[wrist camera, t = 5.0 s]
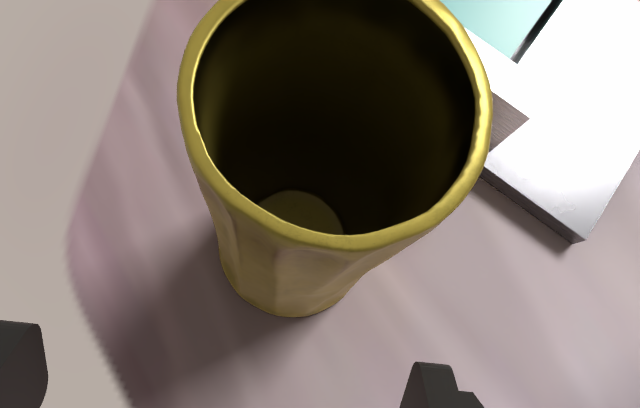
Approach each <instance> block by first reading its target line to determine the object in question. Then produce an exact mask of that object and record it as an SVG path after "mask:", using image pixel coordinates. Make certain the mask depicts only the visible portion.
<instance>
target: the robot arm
mask: <svg viewBox="0 0 640 408" xmlns="http://www.w3.org/2000/svg"><path fill="white" fill-rule="evenodd" d="M47 384H48V371H47V365H46V359H45V352H44V346H43V339H42V333H41V328H40V326H39V325H38V324H33V323H23V322H13V321H4V320H0V408H40V406H41V404H42V402H43V399H44V396H45V393H46V389H47ZM400 408H484V407H483V405H482V404H481V403H480V401H479V400H478V399H477V397H476V396H475V395H474V393H473V392H465V391H458V388H457V384H456V381H455V377H454V374H453V370H452V368H451V367H450V366H449V365H444V364H435V363H425V362H415V363H414V364H413V366H412V369H411V373H410V376H409V379H408V382H407V385H406V389H405V392H404V395H403V398H402V401H401V405H400Z"/></svg>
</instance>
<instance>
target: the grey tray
mask: <svg viewBox="0 0 640 408" xmlns="http://www.w3.org/2000/svg"><path fill="white" fill-rule="evenodd" d="M465 30H466V31H467V33H468V35H469V36H470V38H471V40H472V42H473V43H474V45H475V47H476V49H477V51H478V53H479V55H480V57H481V59H482V62H483V64H484V66H485V69H486V72H487V75H488V78H489V81H490V85H491V91H492V97H493V119H492V129H491V138H490V145H489V152H488V155H487V158H486V161H485V164H484V167H483V170H482V171H481V173H480V175H479V176H480V177H481V178H483V179H484V180H485V181H487V182H488V183H489V184H491V185H492V186H494V187H495V188H496V189H498V190H499V191H501V192H502V193H503V194H505V195H506V196H507V197H509V198H510V199H512V200H513V201H514V202H516V203H517V204H518V205H520V206H521V207H523V208H524V209H525V210H527V211H528V212H529V213H531V214H532V215H534V216H535V217H536V218H538V219H539V220H541V221H542V222H543V223H545V224H546V225H547V226H549V227H550V228H552V229H553V230H554V231H556V232H557V233H558V234H560V235H561V236H563V237H564V238H565V239H567V240H568V241H569V242H571V243H572V244H575V243H578V242H581V241H585V240H586V239H587V238H588V236H589V234H590V233H591V231H592V229H593V228H594V226H595V224H596V223H597V221H598V219H599V217H600V216H601V214H602V212H603V211H604V209H605V207H606V206H607V204H608V202H609V201H610V199H611V197H612V196H613V194H614V192H615V190H616V189H617V187H618V185H619V184H620V182H621V180H622V179H623V177H624V175H625V174H626V172H627V170H628V169H629V167H630V165H631V163H632V162H633V160H634V158H635V157H636V155H637V153H638V152H639V150H640V3H638V2H637V1H635V0H552V1H551V2H550V4H549V5H548V6H547V8H546V9H545V11H544V12H543V13H542V15H541V16H540V18H539V19H538V20H537V22H536V23H535V25H534V26H533V27H532V29H531V30H530V31H529V33H528V34H527V36H526V37H525V38H524V40H523V41H522V43H521V44H520V45H519V47H518V48H517V50H516V51H515V52H514V54H513V55H512V56H511V58H510V59H508V58H506V57H505V56H504V55H502V54H501V53H499V52H498V51H496V50H495V49H494V48H492V47H491V46H489V45H488V44H486V43H485V42H484V41H482V40H481V39H479V38H478V37H477V36H475V35H474V34H472V33H471V32H469V31H468V30H467V29H465Z"/></svg>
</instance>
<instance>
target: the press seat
mask: <svg viewBox="0 0 640 408" xmlns="http://www.w3.org/2000/svg"><path fill="white" fill-rule="evenodd" d="M439 1H441V2H442V3H443V4H444V5H445V6H446V7H447V8H448V9H449V10H450V11H451V13H452V14H453V15H454V16H455V17H456V18H457V19H458V20H459V22H460V23H461V24H462V25H463V26H464V28H465V29H467V30H468V31H469V32H471V33H472V34H474V35H475V36H477V37H478V38H479V39H481V40H482V41H484V42H485V43H486V44H488V45H489V46H491V47H492V48H494V49H495V50H496V51H498V52H499V53H501V54H502V55H504V56H505V57H506V58H508V59H510V58H511V56H512V55H513V54H514V52H515V51H516V50H517V48H518V47H519V45H520V44H521V43H522V41H523V40H524V38H525V37H526V36H527V34H528V33H529V31H530V30H531V29H532V27H533V26H534V25H535V23H536V22H537V20H538V19H539V18H540V16H541V15H542V13H543V12H544V11H545V9H546V8H547V6H548V5H549V4H550V2H551V1H552V0H439Z"/></svg>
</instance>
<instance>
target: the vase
mask: <svg viewBox="0 0 640 408" xmlns="http://www.w3.org/2000/svg"><path fill="white" fill-rule="evenodd" d="M177 105H178V112H179V118H180V124H181V130H182V134H183V137H184V142H185V146H186V150H187V154H188V157H189V160H190V163H191V165H192V168H193V171H194V173H195V175H196V178H197V181H198V184H199V187H200V190H201V192H202V194H203V197H204V199H205V201H206V203H207V206H208V208H209V211H210V213H211V216H212V219H213V222H214V225H215V229H216V233H217V238H218V244H219V256H220V261H221V265H222V268H223V270H224V273H225V275H226V277H227V279H228V280H229V282H230V284H231V285H232V286H233V288H234V289H235V291H236V292H237V293H238V294H239V295H240V296H241V297H242V298H243V299H244V300H246V301H247V302H249V303H250V304H252V305H253V306H255V307H257V308H259V309H261V310H263V311H265V312H267V313H270V314H273V315H277V316H283V317H304V316H309V315H312V314H316V313H318V312H320V311H323V310H325V309H327V308H329V307H330V306H332V305H334V304H335V303H337V302H338V301H339V300H340V299H342V298H343V297H344V296H345V294H346V293H347V292H348V291H349V289H350V288H351V287H352V286H353V285H354V284H355V283H356V282H357V281H358V280H359V279H360V278H361V277H362V276H363V275H364V274H365V273H367V272H368V271H369V270H371V269H373V268H375V267H376V266H378V265H380V264H381V263H383V262H385V261H386V260H388V259H389V258H391V257H392V256H394V255H396V254H397V253H399V252H400V251H402V250H403V249H405V248H406V247H408V246H409V245H411V244H412V243H414V242H415V241H417V240H418V239H420V238H421V237H423V236H424V235H426V234H428V233H429V232H430V231H432V230H433V229H434V228H435V227H437V226H438V225H439V224H440V223H441V222H442V221H443V220H444V219H445V218H446V217H447V216H449V215H450V214H451V213H452V212H453V211H454V210H455V209H456V208H457V207H458V206H459V205H460V204H461V202H462V201H463V200H464V199H465V197H466V196H467V195H468V193H469V192H470V190H471V189H472V188H473V186H474V185H475V183H476V181H477V179H478V177H479V175H480V173H481V171H482V170H483V167H484V164H485V161H486V158H487V155H488V152H489V145H490V138H491V129H492V119H493V97H492V91H491V85H490V81H489V78H488V75H487V72H486V69H485V66H484V64H483V62H482V59H481V57H480V55H479V53H478V51H477V49H476V47H475V45H474V43H473V42H472V40H471V38H470V36H469V35H468V33H467V31H466V30H465V28H464V26H463V25H462V24H461V23H460V22H459V20H458V19H457V18H456V17H455V16H454V15H453V14H452V13H451V11H450V10H449V9H448V8H447V7H446V6H445V5H444V4H443V3H442V2H441V1H439V0H219V1H218V2H217V3H216V4H215V5H214V6H213V7H212V8H211V9H210V10H209V11H208V12H207V14H206V15H205V16H204V17H203V18H202V20H201V21H200V22H199V23H198V25H197V26H196V28H195V30H194V31H193V33H192V35H191V36H190V39H189V41H188V44H187V46H186V49H185V51H184V55H183V58H182V62H181V65H180V70H179V76H178V82H177Z"/></svg>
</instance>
